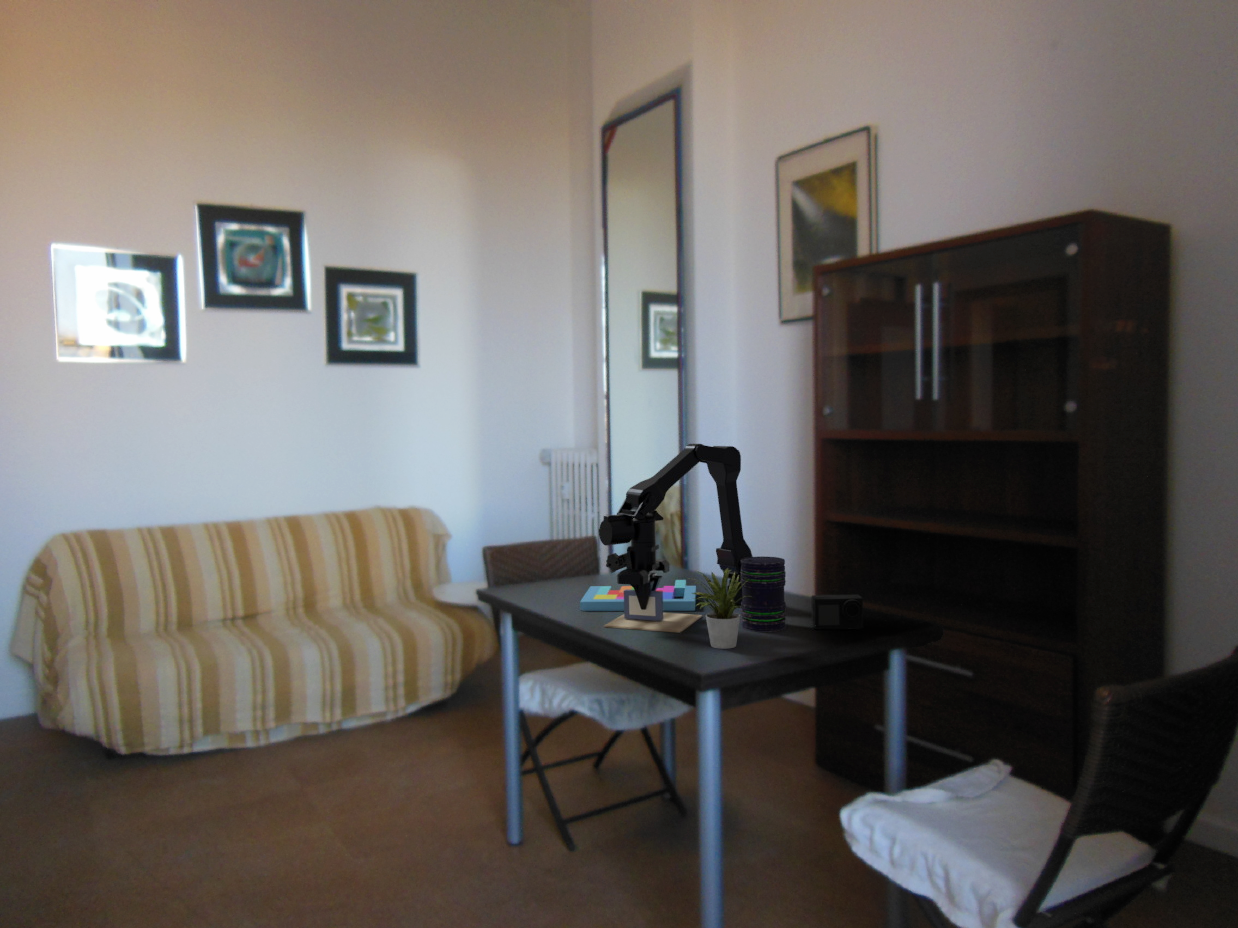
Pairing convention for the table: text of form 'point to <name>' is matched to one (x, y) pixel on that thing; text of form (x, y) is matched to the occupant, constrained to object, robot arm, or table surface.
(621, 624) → the wooden mat
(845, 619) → the digital camera
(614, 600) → the tetris game
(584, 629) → the table surface
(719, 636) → the house plant
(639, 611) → the card deck
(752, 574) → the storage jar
